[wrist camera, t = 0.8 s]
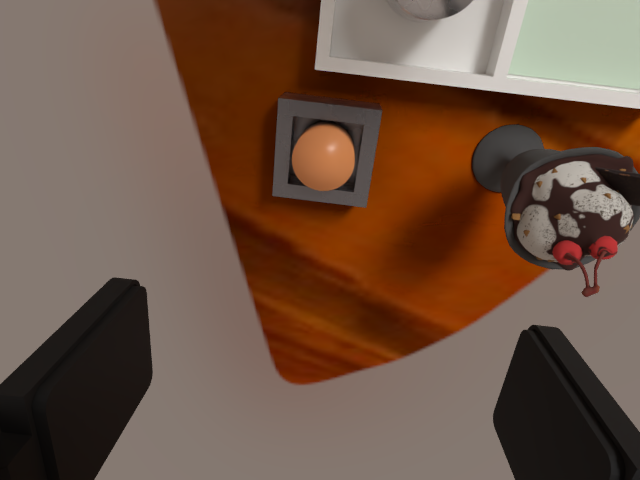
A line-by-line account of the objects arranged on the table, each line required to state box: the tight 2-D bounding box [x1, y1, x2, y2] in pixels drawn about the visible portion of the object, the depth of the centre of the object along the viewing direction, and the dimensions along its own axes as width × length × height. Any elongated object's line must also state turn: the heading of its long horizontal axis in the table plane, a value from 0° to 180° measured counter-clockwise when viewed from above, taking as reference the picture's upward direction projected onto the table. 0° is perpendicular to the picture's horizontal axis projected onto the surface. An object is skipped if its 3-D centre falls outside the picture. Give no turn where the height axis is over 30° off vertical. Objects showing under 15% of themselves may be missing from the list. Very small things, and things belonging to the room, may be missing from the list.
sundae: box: [472, 124, 640, 297], centre depth 24 cm, size 7×7×15 cm
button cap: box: [292, 122, 355, 191], centre depth 28 cm, size 4×4×2 cm
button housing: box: [272, 92, 382, 208], centre depth 30 cm, size 7×7×3 cm
